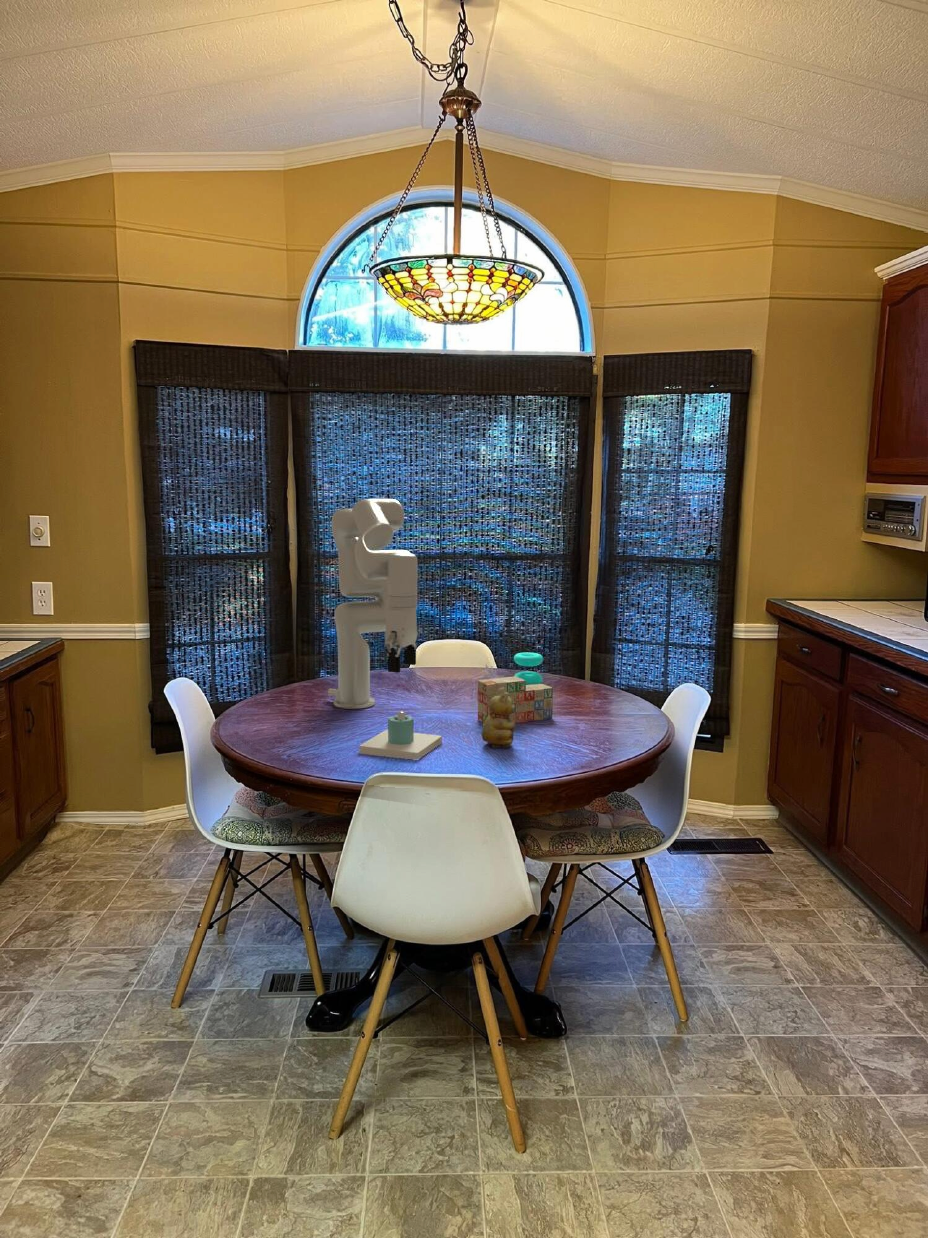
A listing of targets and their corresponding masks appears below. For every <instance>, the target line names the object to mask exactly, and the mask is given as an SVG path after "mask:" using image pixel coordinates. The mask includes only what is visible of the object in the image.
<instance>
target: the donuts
mask: <svg viewBox="0 0 928 1238" xmlns="http://www.w3.org/2000/svg"><path fill="white" fill-rule="evenodd" d="M513 661H514V662H515V663H516V664H517V665H519V666H522V667H536V666H539V665H541V664H542V663H543V662H544V657H543V656H542V654H540V653H537V652H527V651H526V652H519V653H516V654H515V655H514V656H513ZM514 676H516V677H518V678H521V679H523V680H526V685H535V684H543V683H542V682H543V680H544V679H543V676H542V675H541V674H540V673H538V672H537V671H536V672H535V671H531V670H530V671H525V670H524V671H519V672H517V673H515V674H514Z"/></svg>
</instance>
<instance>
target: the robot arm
mask: <svg viewBox="0 0 928 1238" xmlns="http://www.w3.org/2000/svg"><path fill="white" fill-rule="evenodd" d="M331 517H332V518H331V532H332V536H333V539H334V543H335V545H336V549H337V555H338V558H337V559H338V560H337V563H338V586H339V587H338V589H339V591H340V594H341V595H342V596H344V597H345V598H346V597H347V598H367V597H370V598H371V597H374V598H375V600H368V601H367V600H366V601H364V600H362V601H361V600H360V601H347V602H343V603H340V604H338V606H337V607H336V608H335V609H334V623H335V630H336V636H337V659H338V660H337V661H338V662H337V665H338V667H337V670H338V674H337V675H338V679H337V681H338V683H337V684H338V686H337V687H338V688H337V689H335V688H328V690H327V696H329V697H335V699H334V700H333V706H335V707H336V708H339V709H345V710H357V709H358V710H359V709H366V708H370V707H372V706H374V705H376V700H375V699H374V698H373V697H371V684H370V683H371V682H370V681H371V680H370V679H371V673H370V671H371V670H370V668H371V667H370V663H371V661H370V660H371V659H370V658H371V657H370V654H371V653H370V652H371V651H370V650H371V649H370V646H369V643H368V642H367V641H366V640H365V639H364V637H363V636H362V634H366V633H367V634H369V633H381V632H384V634H385V635H384V636H385V637H384V645H385V651H386V652H387V653H386V656H387V671H388V673H396V674H398V673H400V672H401V656H400V653H401V650H402V649H403V648H404V649H403V664H404V665H407V666H408V665H410V666H416V664H417V649H418V647H417V643H418V639H417V638H418V636H419V635H418V634H419V631H418V627H417V626H418V624H417V622H418V621H417V609H418V557H417V555H416V554H414V553H411V552H410V551H409V550H406V549H384V548H386V547H387V546H388V545H390V544H391V542H392V541H393V538H394V533H396V532H397V531H399V529H401V528H402V526H403V525H404V521H405V509H404V508H403V506H402V504H401V502H399V501H398V500H397V499H395V498H394V499H393V498H365V499H361V500H359V501H357V502H356V503H355V504H354V505H353V507H352V508H341V509H338V510H335V512H334V513H333V514H332V516H331Z"/></svg>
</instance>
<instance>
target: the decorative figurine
mask: <svg viewBox="0 0 928 1238" xmlns="http://www.w3.org/2000/svg"><path fill="white" fill-rule="evenodd" d="M490 710H491V711H490V713H489V715H488V717H487V720H486V721H485V723H484V724H483V726H482V733H481V738H482V741H483V742H487V743H488V744H490V746H491V748H510V747H511V745H512V744H513V741H514V731H515V730H516V729H515V728H516V723H512V722H511V720H510V718H509V715H510V714H512V713H513V711H514V710H515V705H514V702H513V701H512V699H511V698H510V697H509V692H504V688H500V689H499V690H498V691H497V692H496V695H495V697H493V698H492V699H491V701H490Z"/></svg>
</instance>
